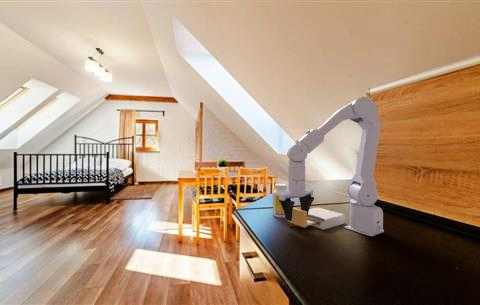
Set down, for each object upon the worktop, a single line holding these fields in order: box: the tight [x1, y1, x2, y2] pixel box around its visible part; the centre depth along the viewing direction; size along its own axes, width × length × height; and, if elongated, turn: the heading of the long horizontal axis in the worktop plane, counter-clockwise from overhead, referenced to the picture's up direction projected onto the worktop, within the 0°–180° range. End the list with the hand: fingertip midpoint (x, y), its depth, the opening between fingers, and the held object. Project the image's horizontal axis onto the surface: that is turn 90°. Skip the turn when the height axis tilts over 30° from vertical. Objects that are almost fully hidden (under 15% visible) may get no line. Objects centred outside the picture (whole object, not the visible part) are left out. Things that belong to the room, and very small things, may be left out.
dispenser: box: [307, 207, 346, 230], centre depth 88 cm, size 12×12×4 cm
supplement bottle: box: [272, 183, 288, 219], centre depth 96 cm, size 7×7×13 cm
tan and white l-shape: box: [286, 207, 320, 228], centre depth 86 cm, size 17×8×5 cm, turn 122°
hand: (296, 218), depth 81 cm, fingers open, 7 cm apart
